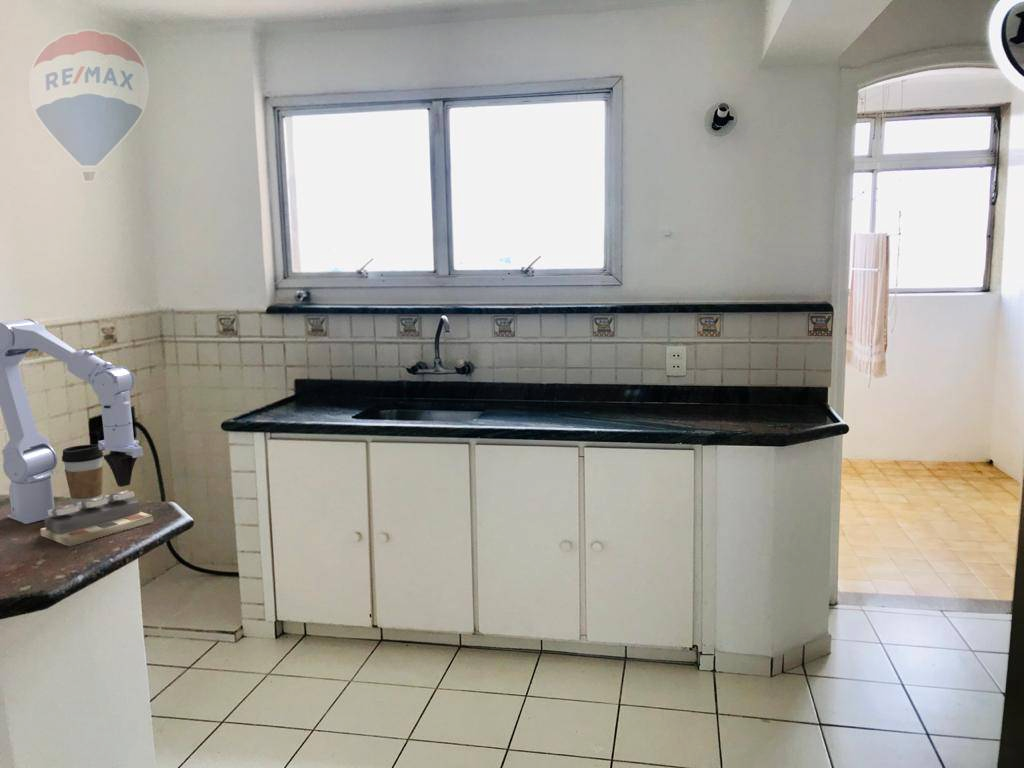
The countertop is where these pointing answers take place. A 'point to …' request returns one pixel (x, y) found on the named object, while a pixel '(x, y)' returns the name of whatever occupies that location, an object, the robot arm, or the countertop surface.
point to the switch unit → (95, 522)
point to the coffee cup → (83, 472)
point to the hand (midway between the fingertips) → (123, 485)
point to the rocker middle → (92, 503)
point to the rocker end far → (119, 496)
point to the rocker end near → (63, 510)
